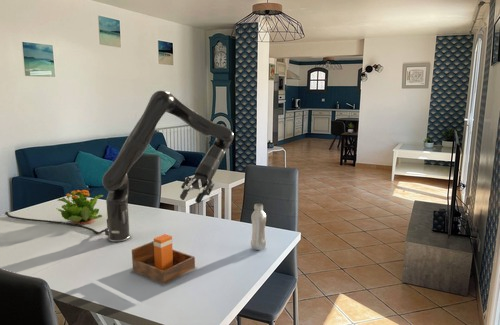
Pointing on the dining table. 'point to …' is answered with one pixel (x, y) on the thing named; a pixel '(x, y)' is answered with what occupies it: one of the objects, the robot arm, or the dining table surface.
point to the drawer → (146, 266)
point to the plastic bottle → (258, 228)
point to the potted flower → (80, 208)
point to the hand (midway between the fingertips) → (189, 200)
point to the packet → (163, 252)
